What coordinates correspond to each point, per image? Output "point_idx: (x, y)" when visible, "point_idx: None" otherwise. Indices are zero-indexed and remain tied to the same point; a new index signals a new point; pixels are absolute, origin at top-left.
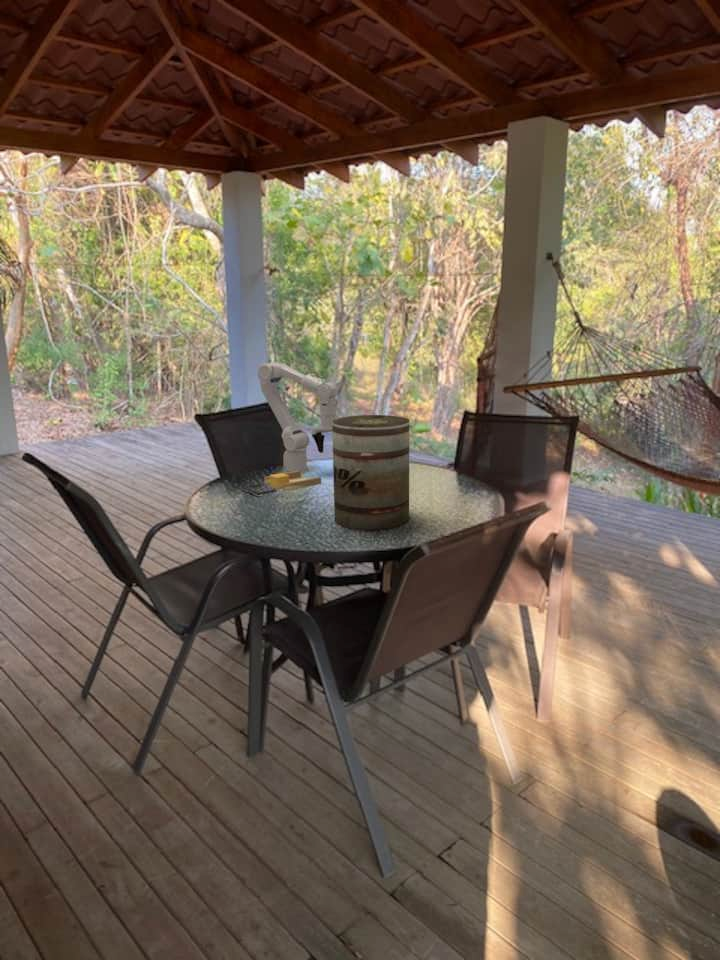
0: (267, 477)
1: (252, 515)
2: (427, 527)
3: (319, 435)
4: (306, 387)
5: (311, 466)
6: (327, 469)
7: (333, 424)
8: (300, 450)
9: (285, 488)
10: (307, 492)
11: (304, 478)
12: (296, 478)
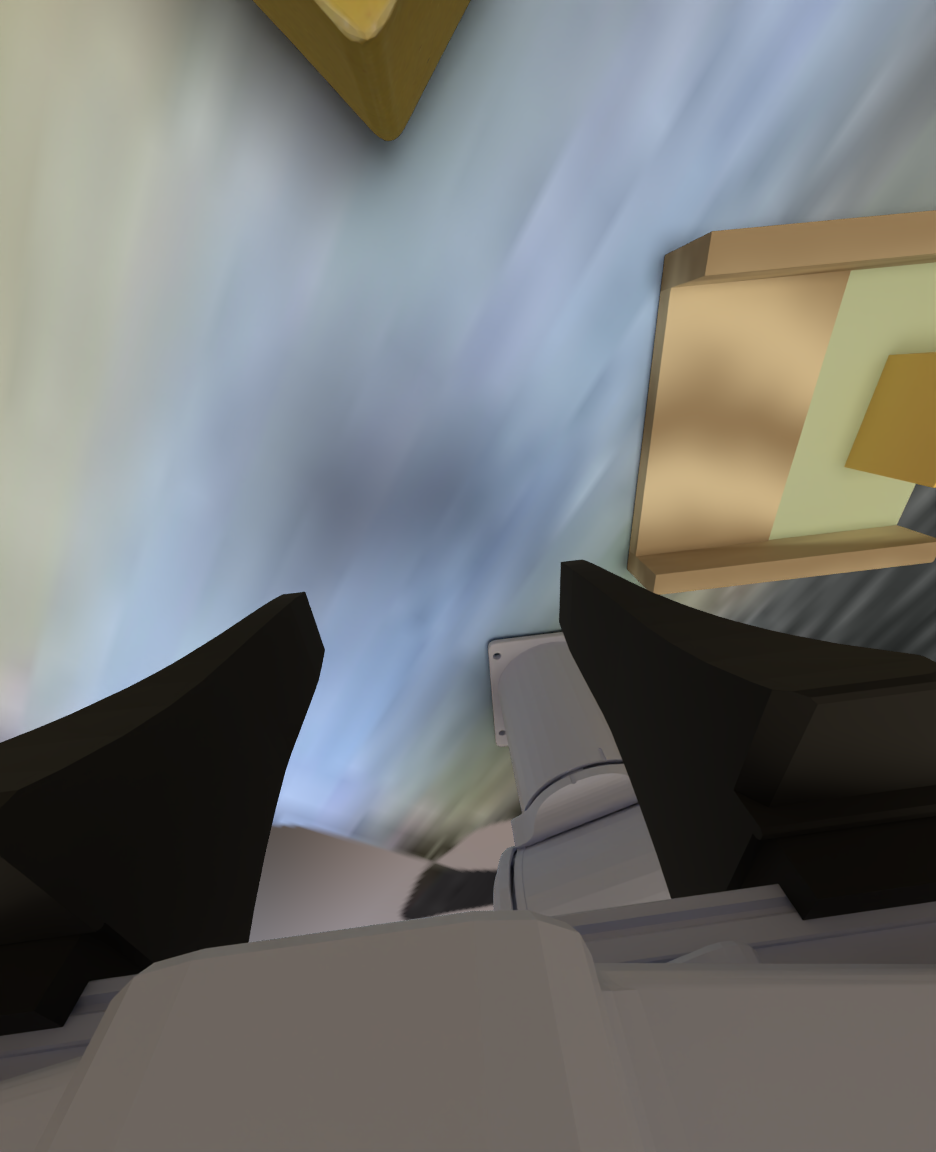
0: (931, 542)
1: None
2: None
3: (930, 742)
4: None
5: (411, 751)
6: (361, 665)
7: None
8: (626, 775)
9: None
10: (924, 80)
11: (649, 503)
12: (685, 533)
